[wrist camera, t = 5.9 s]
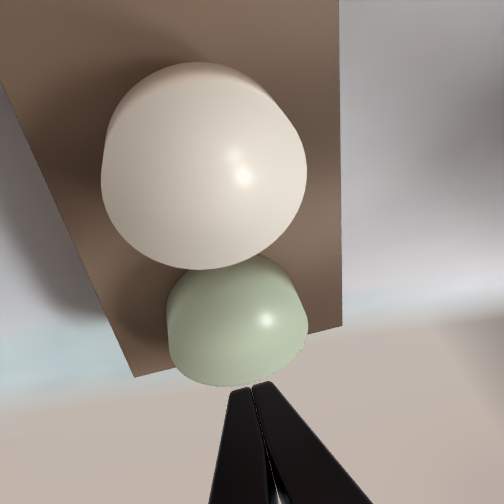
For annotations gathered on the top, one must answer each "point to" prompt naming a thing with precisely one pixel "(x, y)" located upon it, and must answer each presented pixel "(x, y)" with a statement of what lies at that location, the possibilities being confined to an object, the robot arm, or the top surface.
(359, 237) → the top surface
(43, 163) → the console
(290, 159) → the button cream
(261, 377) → the button sage
